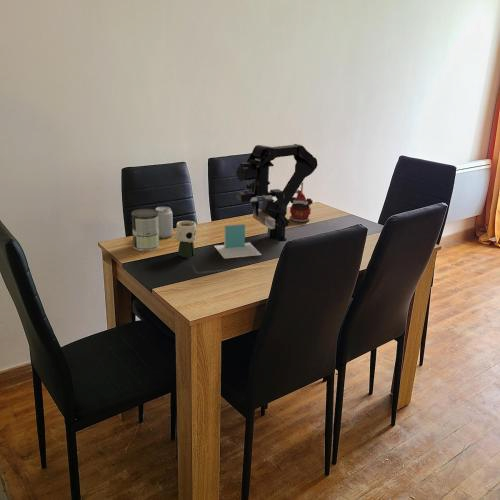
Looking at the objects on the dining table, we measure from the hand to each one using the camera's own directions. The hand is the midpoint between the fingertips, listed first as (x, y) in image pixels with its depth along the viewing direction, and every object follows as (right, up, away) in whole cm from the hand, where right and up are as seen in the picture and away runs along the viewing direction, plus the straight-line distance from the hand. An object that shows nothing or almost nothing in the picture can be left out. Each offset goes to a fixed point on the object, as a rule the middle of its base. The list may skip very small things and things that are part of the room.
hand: (259, 216), depth 204 cm
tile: (-10, -12, -4) cm, 16 cm away
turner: (+2, -3, -3) cm, 4 cm away
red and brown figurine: (+20, 0, +36) cm, 41 cm away
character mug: (-28, -16, -12) cm, 35 cm away
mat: (-9, -15, -7) cm, 18 cm away
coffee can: (-45, -13, -4) cm, 47 cm away
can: (-40, -8, +8) cm, 42 cm away
